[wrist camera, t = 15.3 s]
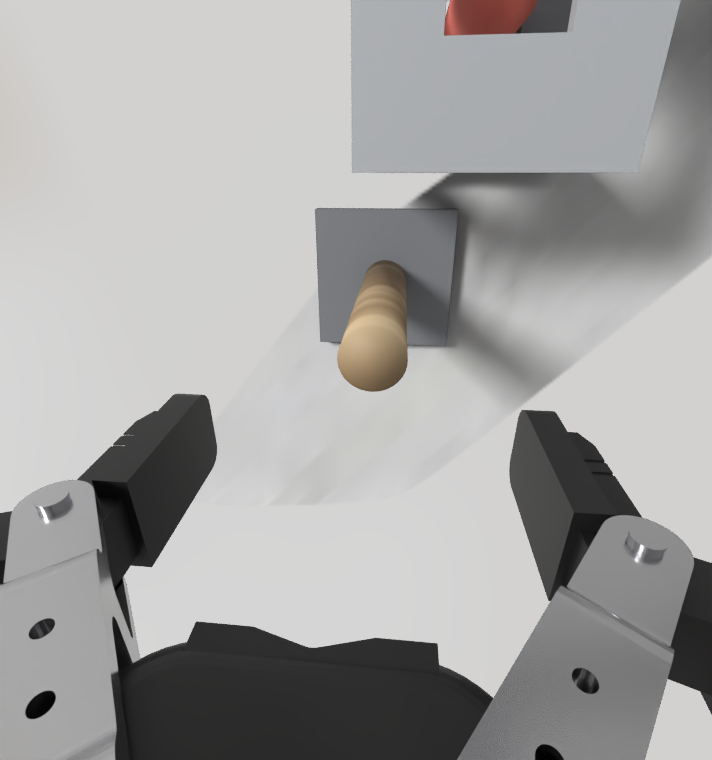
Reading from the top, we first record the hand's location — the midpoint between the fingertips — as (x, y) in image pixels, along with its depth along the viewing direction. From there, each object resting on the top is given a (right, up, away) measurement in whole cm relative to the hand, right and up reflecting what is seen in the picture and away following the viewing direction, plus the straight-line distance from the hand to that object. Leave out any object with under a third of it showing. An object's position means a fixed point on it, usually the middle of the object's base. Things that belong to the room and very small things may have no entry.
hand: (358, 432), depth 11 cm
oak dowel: (+2, +7, +15) cm, 17 cm away
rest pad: (+2, +8, +16) cm, 18 cm away
